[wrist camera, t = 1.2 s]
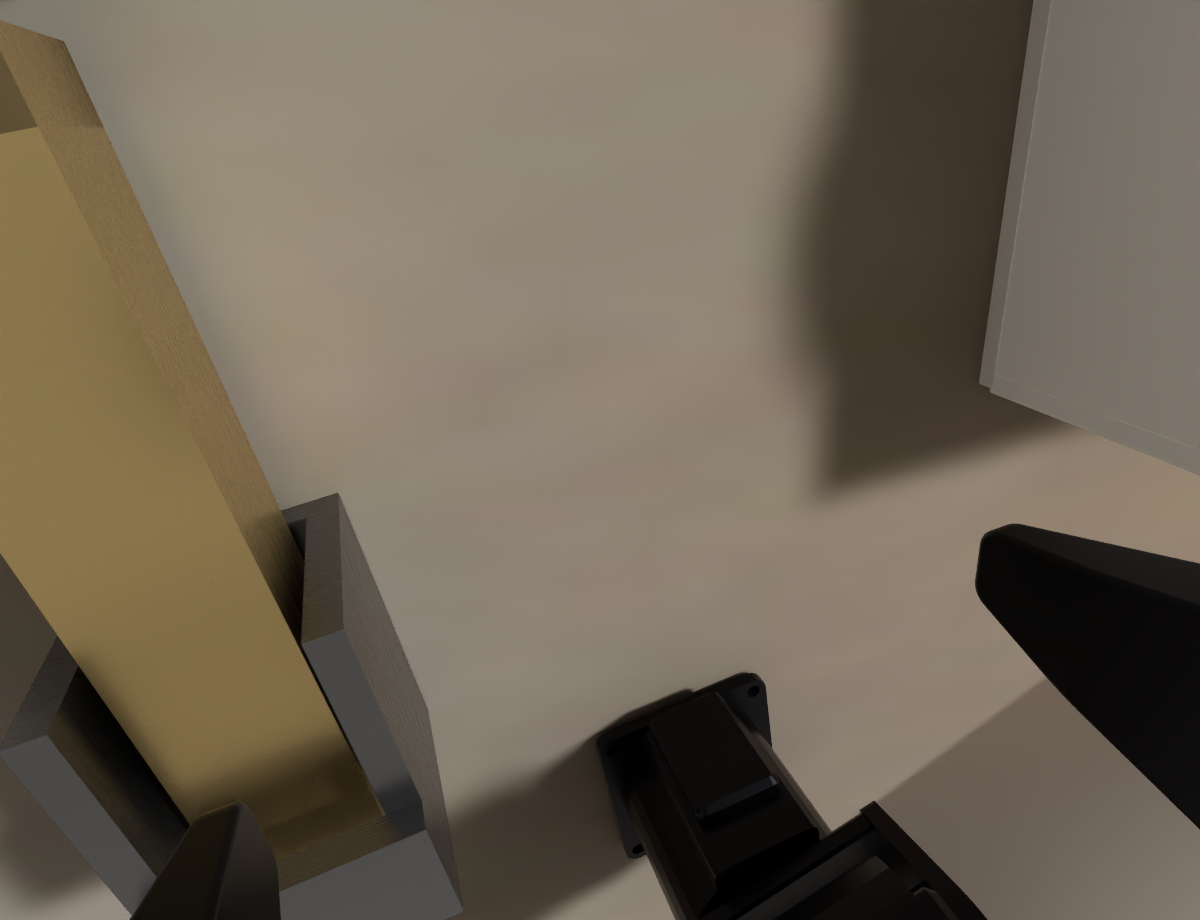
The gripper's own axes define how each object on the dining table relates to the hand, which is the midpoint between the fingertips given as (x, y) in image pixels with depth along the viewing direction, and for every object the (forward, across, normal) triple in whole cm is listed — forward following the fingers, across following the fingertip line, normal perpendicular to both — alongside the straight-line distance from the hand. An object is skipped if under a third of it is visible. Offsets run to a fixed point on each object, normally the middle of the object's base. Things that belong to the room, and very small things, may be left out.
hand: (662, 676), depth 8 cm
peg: (+11, +7, +1) cm, 13 cm away
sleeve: (+12, +7, +7) cm, 16 cm away
